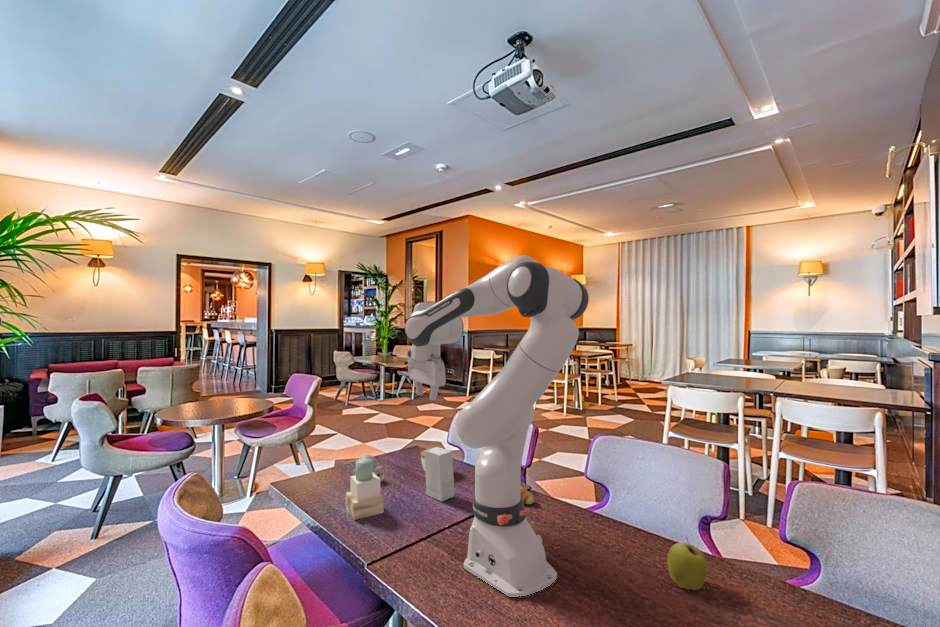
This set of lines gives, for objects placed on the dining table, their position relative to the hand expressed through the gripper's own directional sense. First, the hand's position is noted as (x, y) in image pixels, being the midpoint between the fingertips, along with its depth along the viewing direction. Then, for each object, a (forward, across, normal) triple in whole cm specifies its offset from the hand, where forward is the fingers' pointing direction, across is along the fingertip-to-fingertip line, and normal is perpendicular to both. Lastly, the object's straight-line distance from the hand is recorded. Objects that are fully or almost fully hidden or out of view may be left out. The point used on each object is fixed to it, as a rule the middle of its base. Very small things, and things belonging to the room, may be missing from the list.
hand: (426, 397), depth 132 cm
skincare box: (+33, +3, -6) cm, 34 cm away
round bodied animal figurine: (+34, +28, +9) cm, 45 cm away
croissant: (+34, -9, -24) cm, 42 cm away
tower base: (+33, +6, +18) cm, 38 cm away
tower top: (+28, +6, +18) cm, 34 cm away
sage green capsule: (+23, +5, +18) cm, 30 cm away
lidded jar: (+33, +22, -14) cm, 42 cm away
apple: (+33, -66, -31) cm, 80 cm away
